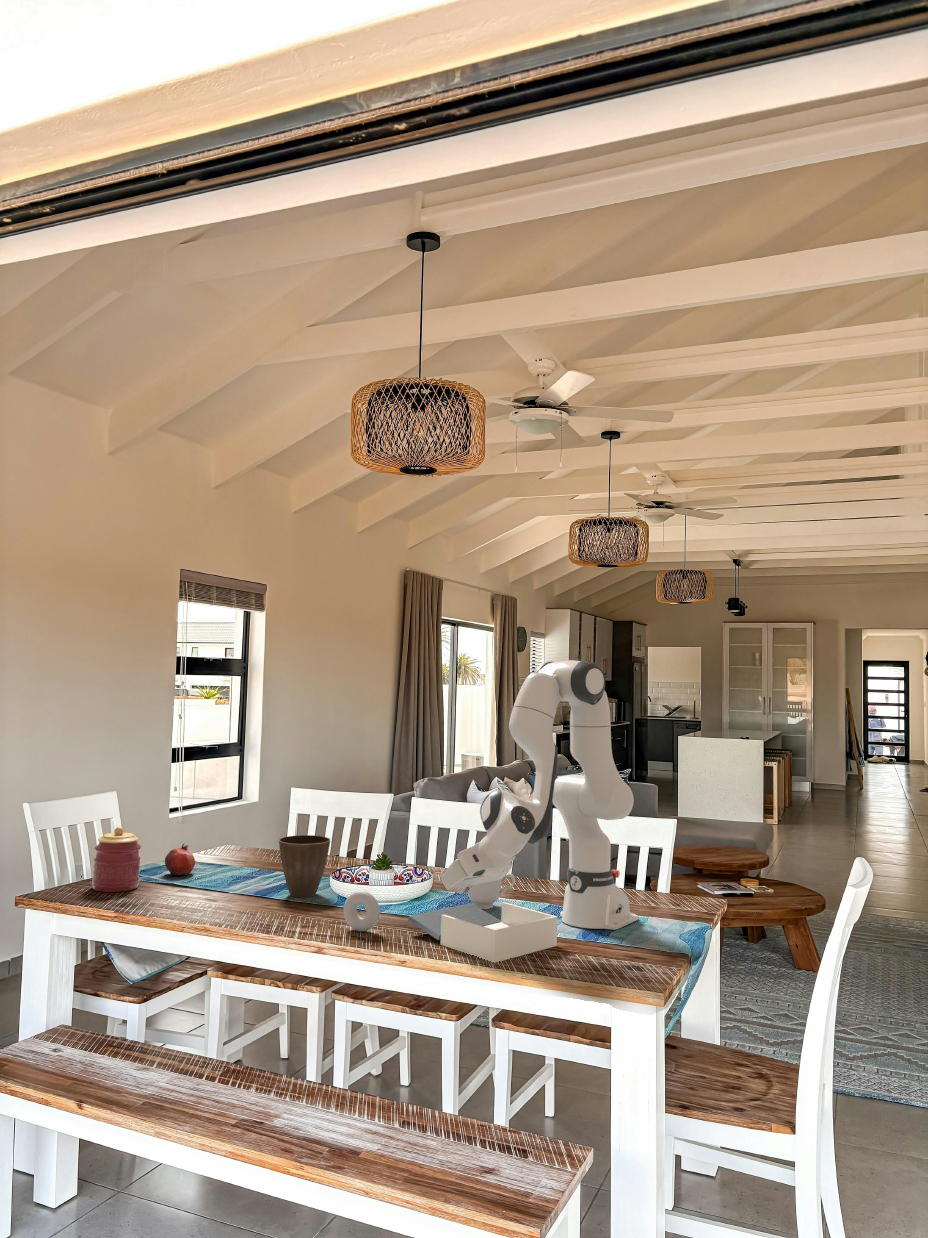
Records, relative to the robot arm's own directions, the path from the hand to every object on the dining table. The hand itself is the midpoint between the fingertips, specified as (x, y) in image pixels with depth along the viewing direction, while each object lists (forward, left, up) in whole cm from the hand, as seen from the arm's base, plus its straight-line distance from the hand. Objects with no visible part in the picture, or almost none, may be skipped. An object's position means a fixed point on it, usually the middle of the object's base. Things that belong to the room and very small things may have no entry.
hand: (462, 890), depth 227 cm
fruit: (+26, -102, -11) cm, 106 cm away
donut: (+20, -16, -11) cm, 28 cm away
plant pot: (+10, -57, -11) cm, 59 cm away
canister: (+49, -96, -11) cm, 108 cm away
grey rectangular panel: (+1, +4, -9) cm, 10 cm away
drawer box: (+1, +14, -10) cm, 17 cm away
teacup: (-24, -14, -11) cm, 30 cm away
